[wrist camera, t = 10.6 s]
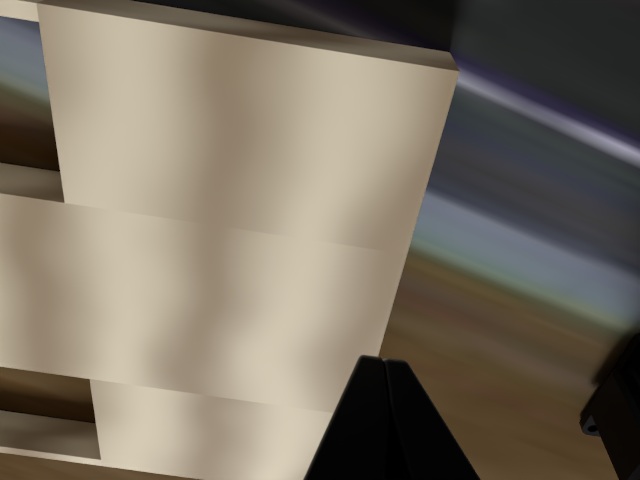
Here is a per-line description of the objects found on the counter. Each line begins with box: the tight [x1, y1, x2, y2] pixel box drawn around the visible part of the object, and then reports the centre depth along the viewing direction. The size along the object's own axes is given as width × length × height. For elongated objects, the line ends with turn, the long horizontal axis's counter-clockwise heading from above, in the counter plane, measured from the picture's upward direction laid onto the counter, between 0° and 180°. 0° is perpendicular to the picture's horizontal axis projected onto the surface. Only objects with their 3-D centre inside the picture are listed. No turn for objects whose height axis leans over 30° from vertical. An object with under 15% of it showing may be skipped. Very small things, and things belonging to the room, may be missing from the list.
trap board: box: [0, 0, 460, 480], centre depth 21 cm, size 28×22×4 cm
